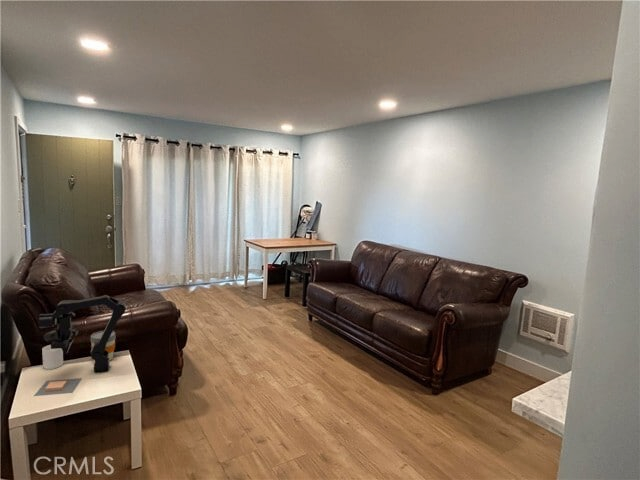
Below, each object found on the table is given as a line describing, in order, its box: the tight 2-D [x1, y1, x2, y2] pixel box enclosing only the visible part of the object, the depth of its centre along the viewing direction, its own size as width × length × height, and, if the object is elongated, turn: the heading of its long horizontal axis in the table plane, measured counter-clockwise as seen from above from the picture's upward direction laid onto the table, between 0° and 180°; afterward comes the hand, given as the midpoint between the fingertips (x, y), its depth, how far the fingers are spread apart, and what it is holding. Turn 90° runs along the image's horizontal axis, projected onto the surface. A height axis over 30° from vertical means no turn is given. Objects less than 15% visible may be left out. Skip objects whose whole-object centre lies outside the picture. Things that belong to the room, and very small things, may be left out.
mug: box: [41, 344, 64, 370], centre depth 200 cm, size 12×9×11 cm
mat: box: [33, 377, 83, 397], centre depth 180 cm, size 16×14×1 cm
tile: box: [45, 381, 67, 392], centre depth 179 cm, size 7×2×6 cm
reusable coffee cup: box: [90, 330, 117, 361], centre depth 210 cm, size 13×13×15 cm
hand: (65, 354), depth 190 cm, fingers closed
